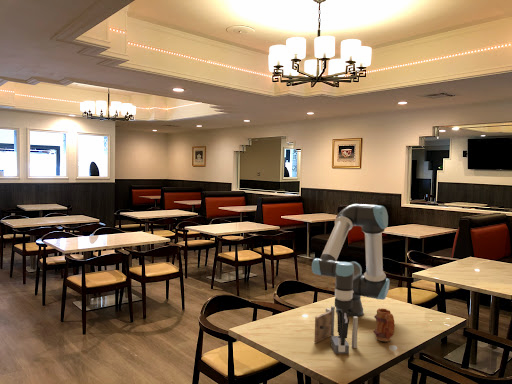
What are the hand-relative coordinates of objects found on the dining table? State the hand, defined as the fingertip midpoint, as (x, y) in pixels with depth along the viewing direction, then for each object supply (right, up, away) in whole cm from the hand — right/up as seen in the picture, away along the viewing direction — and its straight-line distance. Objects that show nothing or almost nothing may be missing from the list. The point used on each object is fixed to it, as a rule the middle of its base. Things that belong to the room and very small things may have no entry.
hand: (341, 351), depth 181 cm
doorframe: (+3, -1, +16) cm, 16 cm away
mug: (+23, -1, +14) cm, 27 cm away
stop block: (0, -1, +6) cm, 6 cm away
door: (-5, 0, +15) cm, 16 cm away
